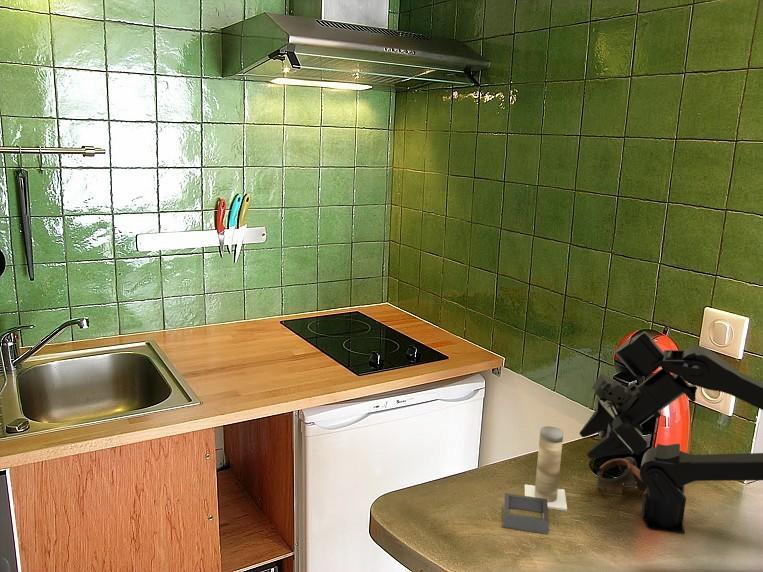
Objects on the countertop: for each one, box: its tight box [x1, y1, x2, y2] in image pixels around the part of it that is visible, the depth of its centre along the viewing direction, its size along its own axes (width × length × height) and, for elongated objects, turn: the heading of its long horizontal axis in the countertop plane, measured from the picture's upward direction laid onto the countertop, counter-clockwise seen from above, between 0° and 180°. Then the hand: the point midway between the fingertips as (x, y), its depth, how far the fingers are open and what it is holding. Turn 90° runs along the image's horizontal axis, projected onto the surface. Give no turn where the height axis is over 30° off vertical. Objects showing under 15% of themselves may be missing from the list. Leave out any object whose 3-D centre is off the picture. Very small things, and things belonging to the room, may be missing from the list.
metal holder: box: [502, 493, 550, 535], centre depth 118 cm, size 8×8×2 cm
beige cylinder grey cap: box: [534, 425, 564, 502], centre depth 124 cm, size 4×4×14 cm
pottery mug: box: [596, 456, 647, 495], centre depth 129 cm, size 12×10×8 cm
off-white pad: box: [524, 484, 568, 512], centre depth 126 cm, size 8×8×1 cm
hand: (584, 445), depth 119 cm, fingers open, 9 cm apart
